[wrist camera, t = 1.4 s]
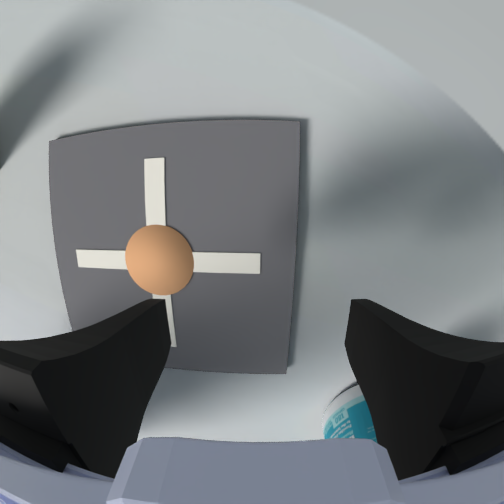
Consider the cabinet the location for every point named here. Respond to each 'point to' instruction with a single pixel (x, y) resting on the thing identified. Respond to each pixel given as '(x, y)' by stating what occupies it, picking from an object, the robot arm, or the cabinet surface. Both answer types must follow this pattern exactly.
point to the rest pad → (184, 234)
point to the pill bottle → (348, 417)
